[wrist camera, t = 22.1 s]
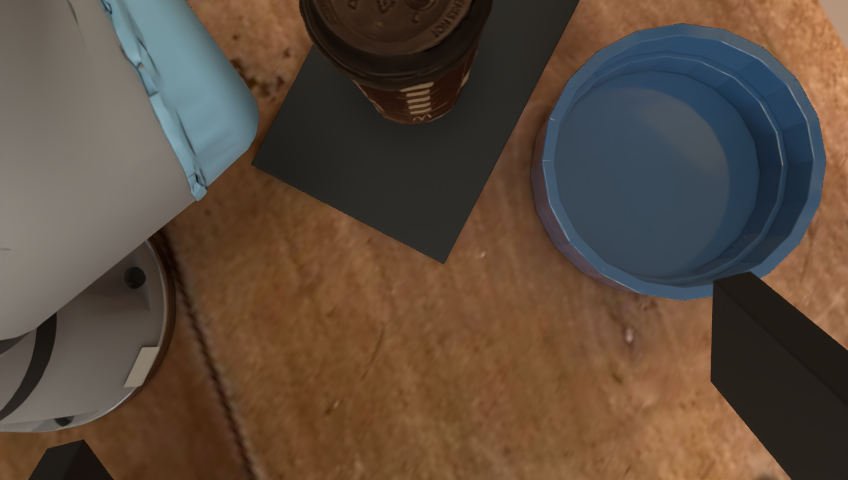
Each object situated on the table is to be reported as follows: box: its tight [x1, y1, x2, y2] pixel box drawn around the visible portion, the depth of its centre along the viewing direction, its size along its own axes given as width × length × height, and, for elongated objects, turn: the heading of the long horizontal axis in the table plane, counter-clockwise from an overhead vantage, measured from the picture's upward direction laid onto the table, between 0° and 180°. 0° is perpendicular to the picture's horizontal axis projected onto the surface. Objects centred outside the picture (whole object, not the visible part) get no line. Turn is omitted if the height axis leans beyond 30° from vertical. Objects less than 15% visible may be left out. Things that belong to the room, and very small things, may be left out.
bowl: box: [530, 23, 826, 300], centre depth 33 cm, size 15×15×5 cm
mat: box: [251, 0, 579, 264], centre depth 36 cm, size 14×20×1 cm
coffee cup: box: [299, 0, 493, 124], centre depth 29 cm, size 9×8×13 cm
